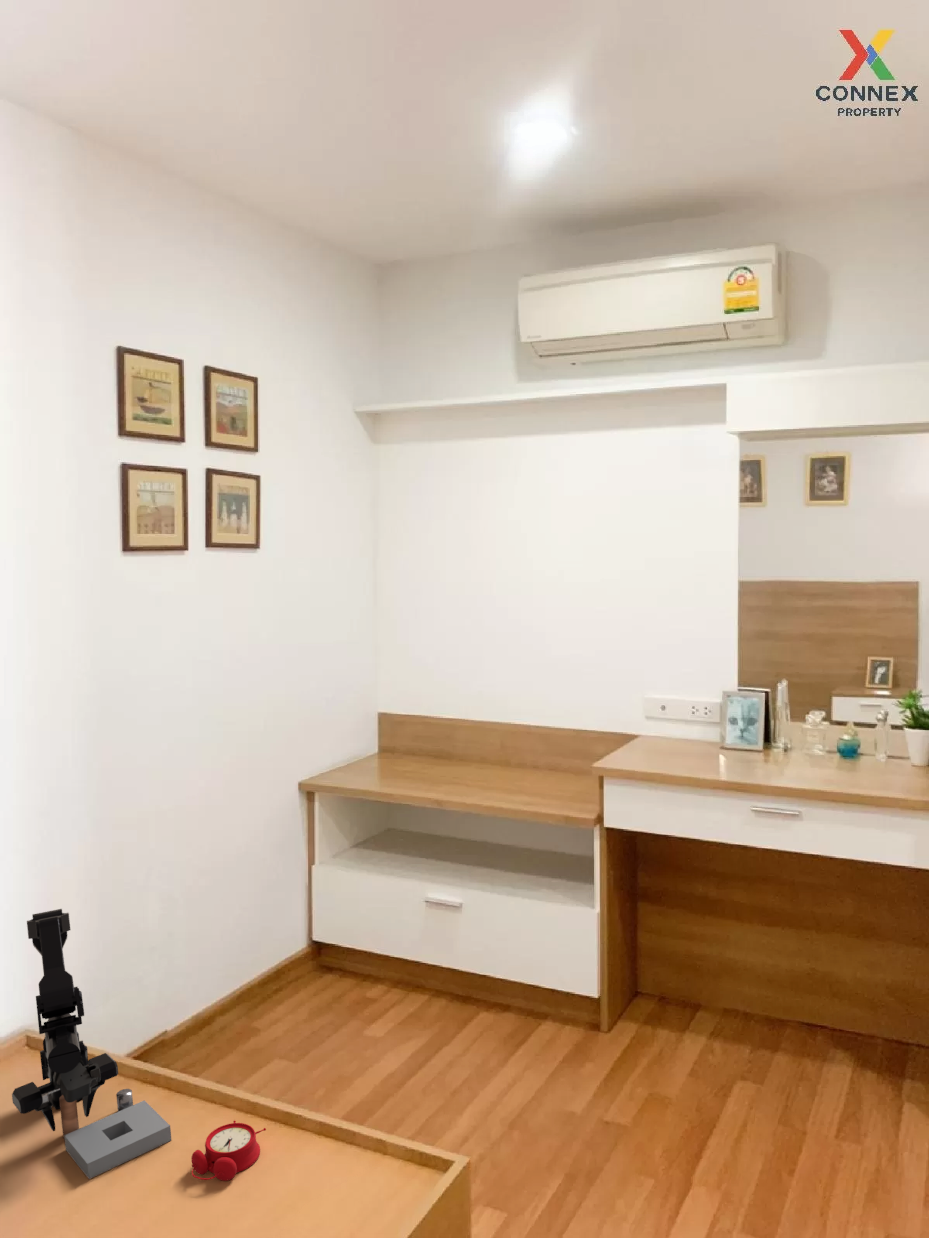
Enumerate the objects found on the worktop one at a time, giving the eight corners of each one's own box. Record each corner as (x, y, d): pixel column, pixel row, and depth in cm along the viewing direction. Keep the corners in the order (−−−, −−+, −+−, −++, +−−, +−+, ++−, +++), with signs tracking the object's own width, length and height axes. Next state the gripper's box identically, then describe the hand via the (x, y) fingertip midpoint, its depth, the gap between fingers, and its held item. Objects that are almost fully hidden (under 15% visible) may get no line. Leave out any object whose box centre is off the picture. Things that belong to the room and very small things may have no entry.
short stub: (115, 1111, 205) (113, 1092, 205) (130, 1105, 207) (128, 1086, 207) (121, 1117, 203) (119, 1098, 202) (135, 1111, 205) (134, 1092, 204)
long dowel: (61, 1135, 198) (57, 1096, 197) (76, 1128, 200) (72, 1090, 199) (66, 1141, 196) (62, 1103, 195) (81, 1134, 198) (78, 1096, 197)
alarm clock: (273, 1125, 192) (224, 1155, 178) (271, 1159, 191) (222, 1192, 177) (228, 1114, 196) (177, 1142, 182) (226, 1148, 195) (175, 1179, 182)
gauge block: (65, 1149, 193) (64, 1135, 193) (145, 1113, 204) (144, 1100, 203) (89, 1178, 184) (87, 1163, 184) (171, 1139, 194) (170, 1125, 194)
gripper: (26, 1083, 184) (34, 1163, 185) (125, 1044, 196) (132, 1119, 198) (7, 1060, 192) (15, 1137, 194) (103, 1024, 204) (110, 1096, 206)
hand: (70, 1122), depth 198 cm, fingers open, 6 cm apart
